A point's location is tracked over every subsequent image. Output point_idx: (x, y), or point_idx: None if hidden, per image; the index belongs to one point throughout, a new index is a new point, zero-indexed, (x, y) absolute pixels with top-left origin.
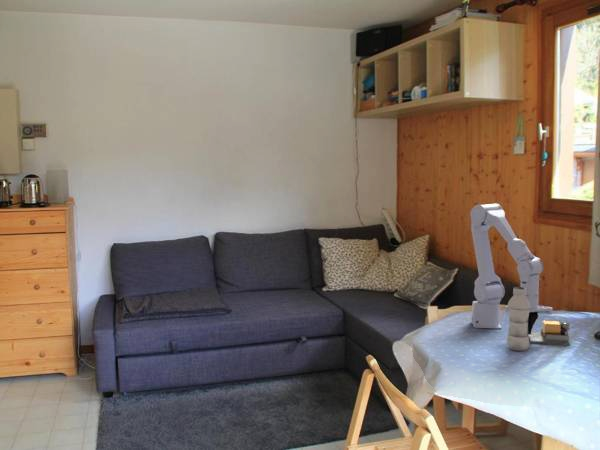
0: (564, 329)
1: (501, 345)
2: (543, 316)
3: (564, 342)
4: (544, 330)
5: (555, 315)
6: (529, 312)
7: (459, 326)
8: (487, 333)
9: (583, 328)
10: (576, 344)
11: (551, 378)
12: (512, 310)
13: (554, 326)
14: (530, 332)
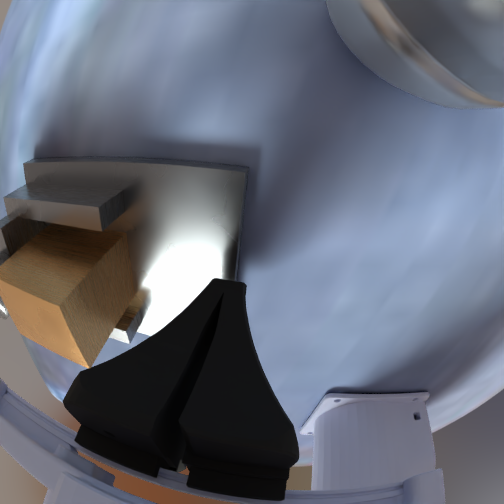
0: (5, 256)
1: (479, 143)
2: None
3: (39, 162)
4: (99, 277)
5: None
6: (166, 471)
7: (458, 392)
8: (428, 346)
9: None
10: (15, 176)
11: None
12: None
13: (23, 274)
14: (210, 284)
